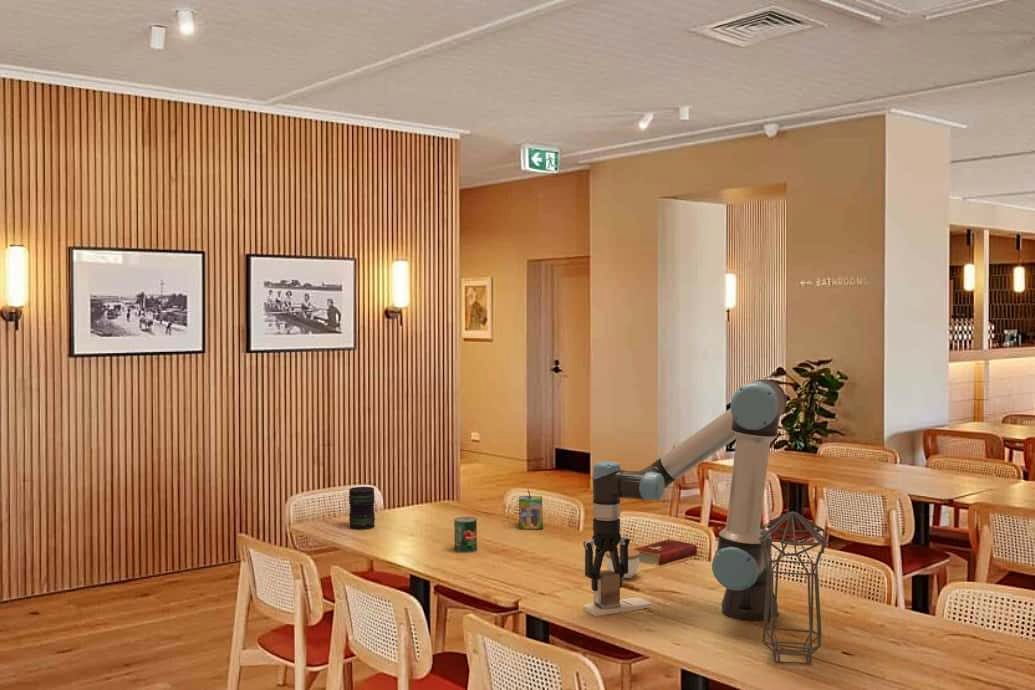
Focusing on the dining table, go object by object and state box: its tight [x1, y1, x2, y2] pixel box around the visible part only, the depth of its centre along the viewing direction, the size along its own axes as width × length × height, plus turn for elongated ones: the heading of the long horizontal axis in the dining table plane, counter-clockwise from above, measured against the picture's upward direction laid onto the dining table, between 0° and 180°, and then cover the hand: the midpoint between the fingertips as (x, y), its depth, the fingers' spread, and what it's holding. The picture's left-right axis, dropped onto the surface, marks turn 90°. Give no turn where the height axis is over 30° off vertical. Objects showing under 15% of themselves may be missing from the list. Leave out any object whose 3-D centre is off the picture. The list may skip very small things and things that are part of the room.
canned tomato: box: [453, 516, 478, 554], centre depth 346 cm, size 8×8×11 cm
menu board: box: [582, 596, 653, 617], centre depth 277 cm, size 7×18×1 cm, turn 114°
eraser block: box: [593, 569, 621, 609], centre depth 275 cm, size 6×5×9 cm
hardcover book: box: [633, 538, 698, 566], centre depth 334 cm, size 12×21×4 cm, turn 134°
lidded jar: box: [605, 547, 640, 579], centre depth 310 cm, size 11×11×9 cm
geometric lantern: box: [759, 511, 829, 665], centre depth 235 cm, size 16×16×35 cm
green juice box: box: [518, 488, 544, 531], centre depth 383 cm, size 9×9×15 cm
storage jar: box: [348, 486, 376, 531], centre depth 386 cm, size 10×10×15 cm
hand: (606, 600), depth 275 cm, fingers closed on eraser block, 5 cm apart
